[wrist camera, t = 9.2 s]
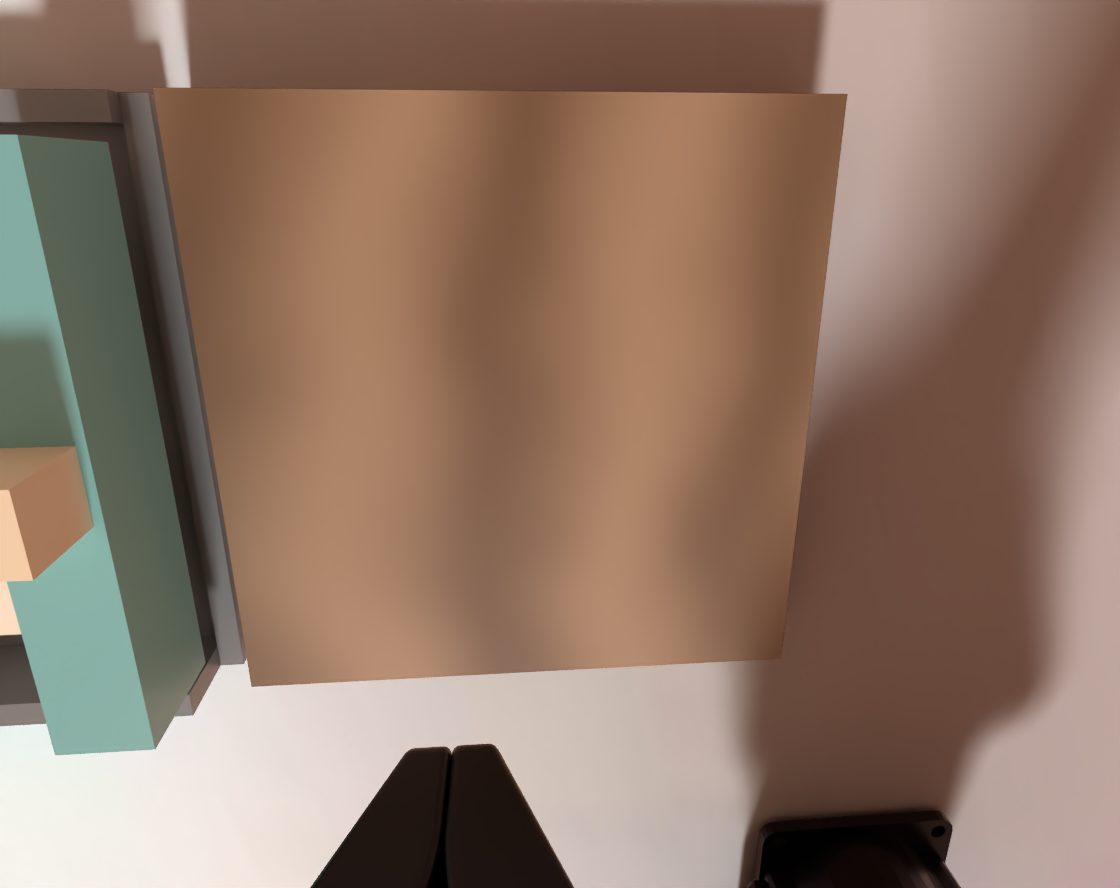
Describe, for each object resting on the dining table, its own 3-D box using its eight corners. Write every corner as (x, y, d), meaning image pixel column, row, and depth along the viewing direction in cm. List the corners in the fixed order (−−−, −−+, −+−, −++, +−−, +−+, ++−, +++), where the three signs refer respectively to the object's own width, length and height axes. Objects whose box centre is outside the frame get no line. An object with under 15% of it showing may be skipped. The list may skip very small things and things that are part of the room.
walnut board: (809, 102, 18) (847, 93, 16) (756, 617, 22) (781, 658, 21) (191, 97, 17) (152, 87, 15) (272, 641, 21) (251, 686, 19)
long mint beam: (107, 142, 15) (-73, 127, 10) (205, 662, 19) (110, 825, 14) (-1, 141, 15) (-237, 126, 10) (121, 667, 19) (-4, 833, 14)
